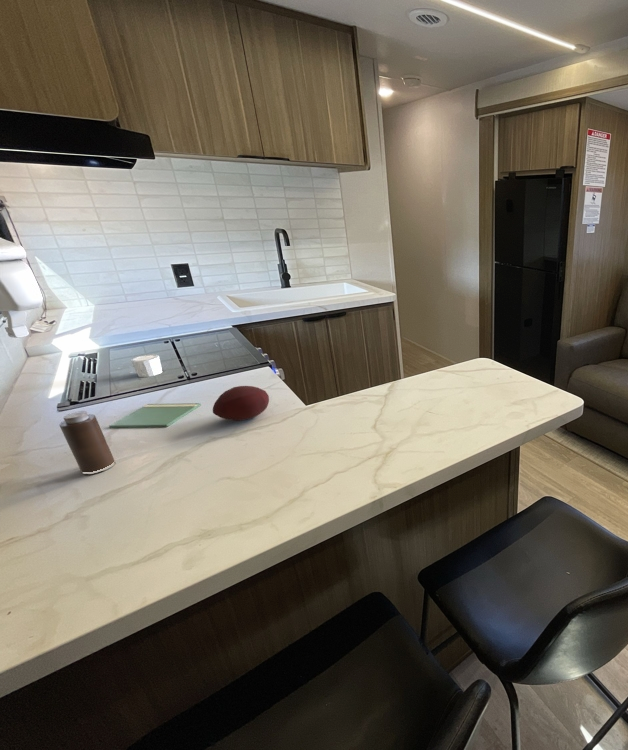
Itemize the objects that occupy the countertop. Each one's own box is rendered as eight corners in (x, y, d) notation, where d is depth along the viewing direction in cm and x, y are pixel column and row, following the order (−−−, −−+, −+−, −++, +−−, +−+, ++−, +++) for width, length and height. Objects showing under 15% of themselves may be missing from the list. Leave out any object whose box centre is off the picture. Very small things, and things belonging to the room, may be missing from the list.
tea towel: (109, 427, 97) (108, 425, 97) (149, 405, 108) (148, 403, 108) (167, 426, 97) (166, 424, 97) (201, 405, 109) (200, 402, 108)
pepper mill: (74, 475, 79) (48, 420, 75) (98, 461, 84) (74, 408, 79) (100, 475, 79) (75, 420, 75) (122, 460, 84) (99, 408, 79)
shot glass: (161, 373, 131) (154, 352, 129) (169, 377, 128) (162, 356, 125) (135, 379, 126) (127, 358, 124) (142, 384, 123) (134, 362, 120)
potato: (282, 410, 105) (275, 381, 102) (248, 431, 95) (239, 399, 92) (245, 406, 108) (237, 377, 104) (208, 426, 97) (199, 395, 94)
